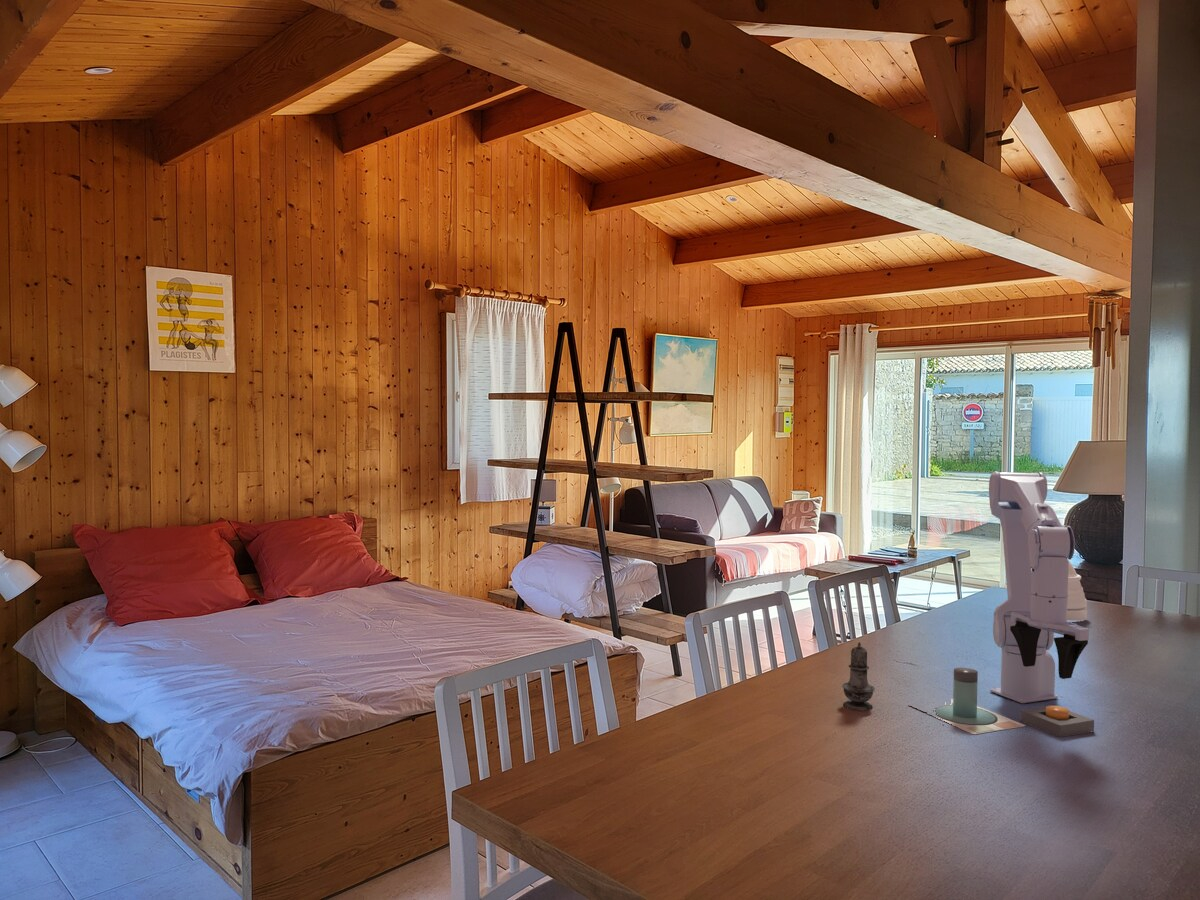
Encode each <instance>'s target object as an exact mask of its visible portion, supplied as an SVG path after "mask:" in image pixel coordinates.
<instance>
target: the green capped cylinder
mask: <svg viewBox="0 0 1200 900" xmlns="http://www.w3.org/2000/svg"><path fill="white" fill-rule="evenodd" d="M978 673H979V671H978V670H976V669H973V668H969V667H968V668H967V667H954V668H953V687H952V688H953V691H952V699H953V714H954V715H955V716H958V717H962V718H975V717H977V706H978V680H979V679H978V676H979V675H978Z"/></svg>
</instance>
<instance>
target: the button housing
mask: <svg viewBox="0 0 1200 900" xmlns="http://www.w3.org/2000/svg"><path fill="white" fill-rule="evenodd" d="M1046 707H1047V706H1043V707H1035V708H1030V709H1023V710H1021V711H1020V712H1021V714H1020V723H1022V724H1023V723H1024V724H1025V725H1028V726H1031V727H1034V728H1036V729H1039V730H1041V731H1043V732H1046V733H1048V734H1050V735H1053V736H1056V737H1058V738H1062V737H1063V738H1064V737H1068V736H1073V735H1075V736H1076V735H1081V734H1086V733H1092V732H1091V731H1093V732H1095V719H1093V718H1090V717H1087V716H1085V715H1083V714H1079V713H1077V712H1074V711H1071V710H1069V719H1067V720H1061V721H1058V720H1056V719H1053V718H1050V717H1048V716H1046Z"/></svg>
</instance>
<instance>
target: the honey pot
mask: <svg viewBox="0 0 1200 900" xmlns="http://www.w3.org/2000/svg"><path fill="white" fill-rule="evenodd" d="M1067 560H1068V561H1069V569H1068V600H1067V620H1083V619H1086V618H1087V616H1088V615H1087V613H1088V605H1087V604H1088V600H1087V598H1086V596H1085V594H1086V593H1085V592H1084V588H1083V586H1082V584H1081V579H1082V576H1081V575H1080V574H1078V573H1077V571H1076V569H1075V567H1074V565H1073V564H1072V563H1071V560H1069V559H1068V558H1067Z"/></svg>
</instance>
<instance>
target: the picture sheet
mask: <svg viewBox="0 0 1200 900" xmlns="http://www.w3.org/2000/svg"><path fill="white" fill-rule="evenodd" d="M950 699H951V704H950V705H946V702H945V705H943V706H941V707H940V706H938V708H937V707H936V708H935V709H936V710H935V712H936V714H935V715H937V714H938V715H937V716H938V717H939V718H938V720H939V719H940V718H941V720H940V721H942V722H944V721H945V722H944V723H946V722H947V723H946V724H948V723H949V725H951V724H952V725H951V726H953V727H955V726H956V727H955V728H957V727H958V728H957V729H960V730H963V732H964V731H965V732H966V733H968V734H971V735H979V734H986V733H991V732H998V731H1004V730H1010V729H1017V728H1022V727H1027V724H1025V723H1024V724H1023V723H1022V722H1018V721H1016V720H1013V719H1011V718H1008V717H1006V716H1004V715H1001V714H999V713H996V712H994V711H991V710H988V709H986V708H983V707H982V706H981V707H980V706H978V705H977V717H975V718H962V717H958V716H955V715H954V714H953V705H952V703H953V698H950ZM939 708H940V709H939ZM933 712H934V709H933ZM935 719H937V717H936V718H935ZM942 719H943V720H942Z"/></svg>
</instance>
